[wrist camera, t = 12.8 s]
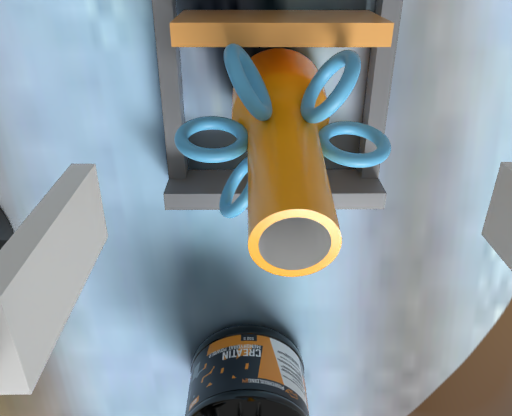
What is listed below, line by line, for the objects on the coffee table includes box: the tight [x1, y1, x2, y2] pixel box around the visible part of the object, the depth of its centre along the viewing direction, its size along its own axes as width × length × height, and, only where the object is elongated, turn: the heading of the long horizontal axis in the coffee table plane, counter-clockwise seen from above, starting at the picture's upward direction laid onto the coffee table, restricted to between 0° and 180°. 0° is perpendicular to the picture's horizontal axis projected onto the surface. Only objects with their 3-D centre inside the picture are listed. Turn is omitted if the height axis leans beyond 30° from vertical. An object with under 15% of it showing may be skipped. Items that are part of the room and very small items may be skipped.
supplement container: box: [185, 325, 309, 416], centre depth 39 cm, size 10×10×12 cm
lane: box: [152, 0, 403, 210], centre depth 28 cm, size 15×18×7 cm
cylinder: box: [174, 44, 391, 277], centre depth 26 cm, size 12×10×15 cm
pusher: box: [170, 10, 394, 47], centre depth 27 cm, size 12×1×6 cm, turn 90°
